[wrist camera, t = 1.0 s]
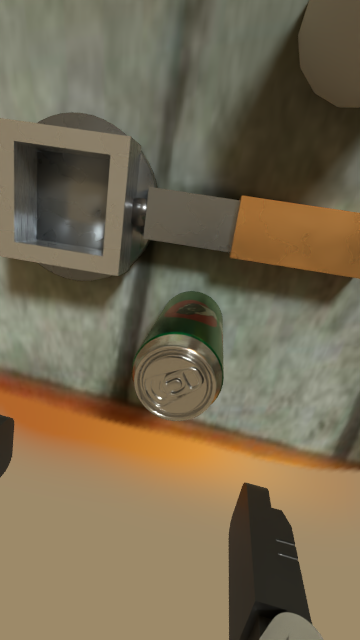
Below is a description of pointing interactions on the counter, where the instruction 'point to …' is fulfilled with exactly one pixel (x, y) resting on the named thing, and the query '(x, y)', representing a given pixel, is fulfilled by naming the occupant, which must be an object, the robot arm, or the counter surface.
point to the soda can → (181, 359)
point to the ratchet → (141, 208)
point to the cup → (332, 50)
